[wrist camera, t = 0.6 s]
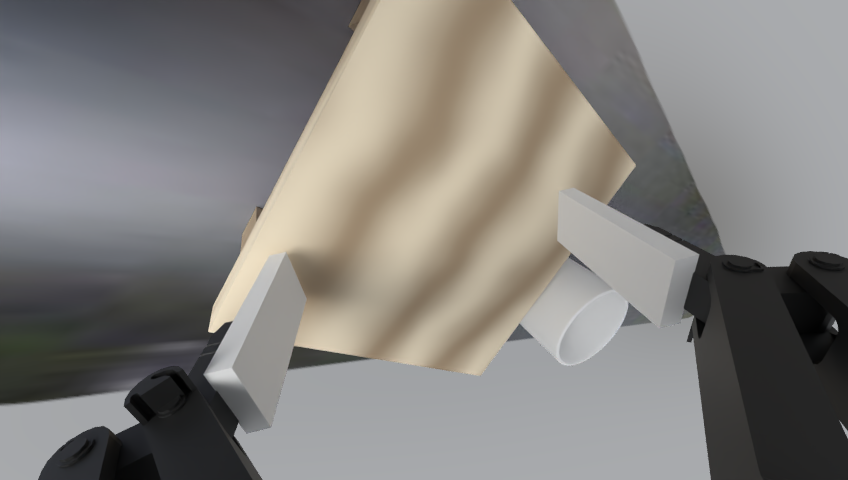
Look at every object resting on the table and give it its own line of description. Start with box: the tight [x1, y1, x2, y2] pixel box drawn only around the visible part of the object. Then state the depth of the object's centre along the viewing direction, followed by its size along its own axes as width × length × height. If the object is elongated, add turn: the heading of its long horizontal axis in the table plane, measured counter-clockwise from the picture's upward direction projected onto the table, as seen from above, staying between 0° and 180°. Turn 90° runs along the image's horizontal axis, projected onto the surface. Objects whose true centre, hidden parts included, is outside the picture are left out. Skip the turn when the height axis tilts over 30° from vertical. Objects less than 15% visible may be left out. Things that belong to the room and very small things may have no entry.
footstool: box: [208, 0, 636, 376], centre depth 23 cm, size 20×20×10 cm
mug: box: [520, 258, 628, 366], centre depth 33 cm, size 12×8×12 cm
